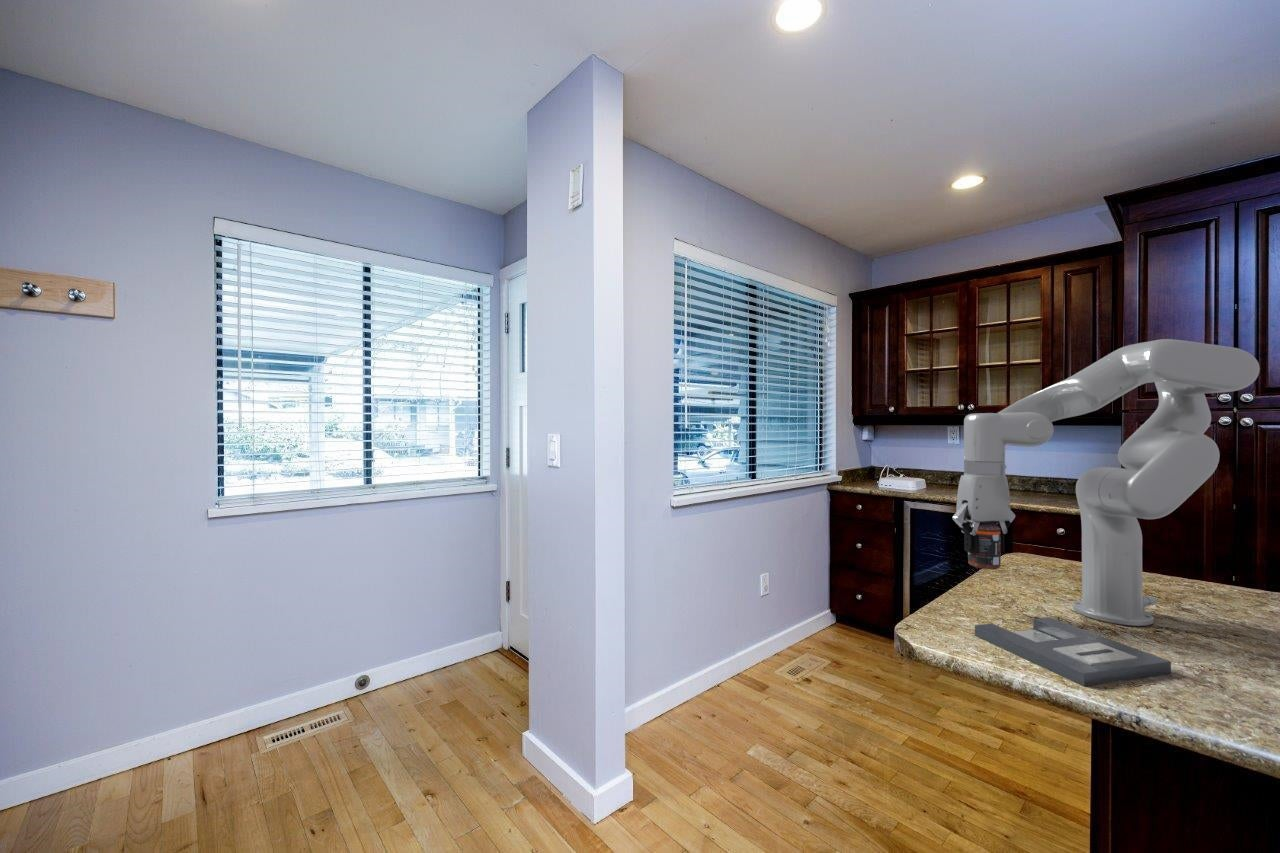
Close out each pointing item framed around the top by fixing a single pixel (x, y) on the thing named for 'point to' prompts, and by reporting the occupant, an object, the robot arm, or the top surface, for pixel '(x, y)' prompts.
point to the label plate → (1075, 652)
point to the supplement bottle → (987, 547)
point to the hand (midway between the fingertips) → (984, 550)
